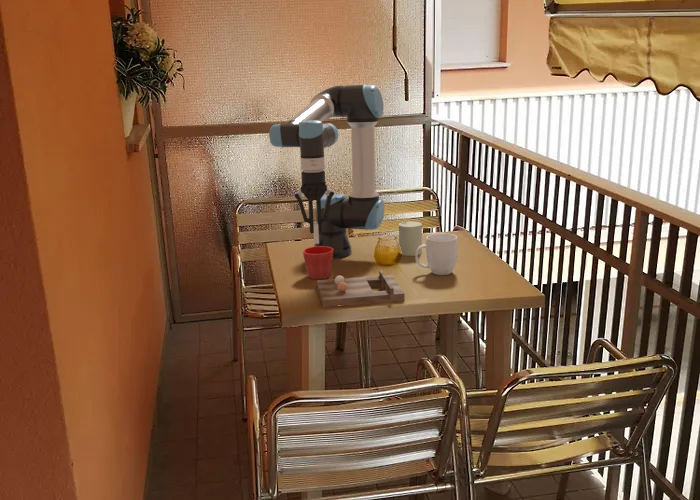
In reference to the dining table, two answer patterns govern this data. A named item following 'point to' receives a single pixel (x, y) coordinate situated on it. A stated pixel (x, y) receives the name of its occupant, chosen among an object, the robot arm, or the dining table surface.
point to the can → (410, 237)
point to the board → (360, 291)
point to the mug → (440, 253)
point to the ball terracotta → (342, 286)
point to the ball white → (339, 279)
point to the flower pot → (318, 261)
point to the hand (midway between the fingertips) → (316, 242)
